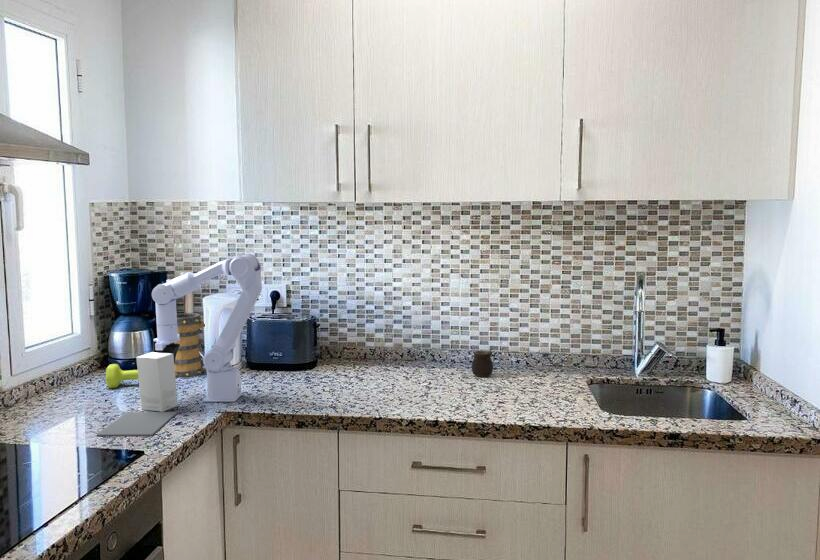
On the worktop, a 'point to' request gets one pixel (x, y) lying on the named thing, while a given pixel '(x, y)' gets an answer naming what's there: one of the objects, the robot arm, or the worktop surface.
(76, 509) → the worktop surface
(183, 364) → the mug
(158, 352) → the robot arm
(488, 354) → the mate gourd
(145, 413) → the charcoal rubber mat
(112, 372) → the dumbbell
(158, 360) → the skincare box
